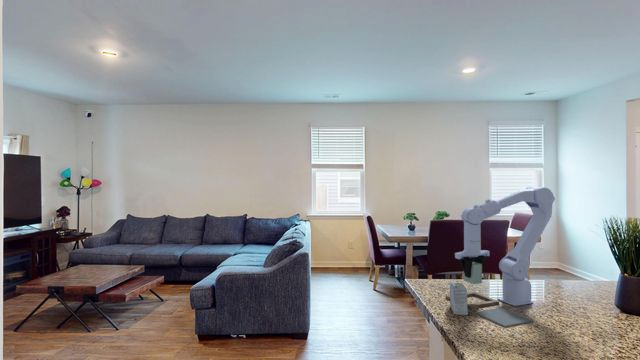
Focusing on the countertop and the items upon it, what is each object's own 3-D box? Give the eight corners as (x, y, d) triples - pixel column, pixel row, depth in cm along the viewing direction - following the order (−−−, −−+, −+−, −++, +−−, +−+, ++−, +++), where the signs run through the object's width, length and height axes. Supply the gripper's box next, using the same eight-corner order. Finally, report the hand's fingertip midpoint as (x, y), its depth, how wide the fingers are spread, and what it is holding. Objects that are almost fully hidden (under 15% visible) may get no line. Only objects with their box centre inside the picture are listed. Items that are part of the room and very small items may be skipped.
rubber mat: (502, 308, 121) (502, 307, 121) (533, 321, 110) (533, 320, 110) (475, 313, 117) (475, 312, 117) (505, 327, 106) (504, 325, 106)
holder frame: (474, 294, 137) (474, 291, 137) (499, 304, 126) (499, 301, 126) (445, 298, 133) (445, 295, 133) (468, 309, 121) (468, 306, 121)
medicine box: (467, 315, 116) (467, 290, 116) (453, 314, 116) (453, 289, 116) (462, 307, 123) (462, 283, 123) (449, 306, 124) (449, 282, 124)
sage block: (471, 279, 132) (471, 261, 132) (481, 283, 127) (481, 264, 127) (463, 280, 131) (463, 262, 131) (473, 284, 126) (473, 265, 126)
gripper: (479, 237, 135) (479, 272, 135) (449, 239, 130) (449, 275, 130) (493, 240, 129) (494, 276, 128) (462, 242, 124) (462, 280, 124)
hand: (472, 276), depth 129 cm, fingers closed on sage block, 4 cm apart
